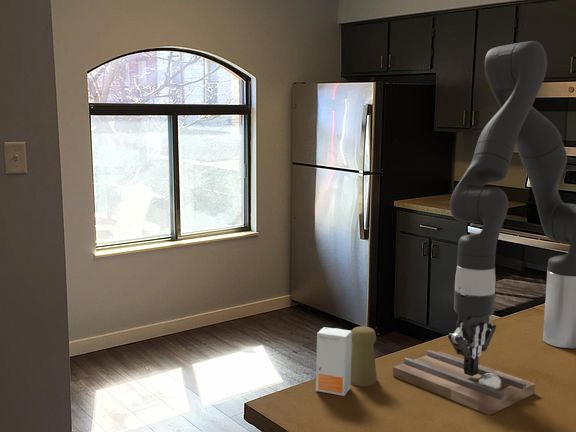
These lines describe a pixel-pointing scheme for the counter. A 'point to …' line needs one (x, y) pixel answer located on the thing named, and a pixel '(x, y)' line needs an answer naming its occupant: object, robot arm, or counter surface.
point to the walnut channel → (462, 382)
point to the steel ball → (491, 381)
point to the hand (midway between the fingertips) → (470, 374)
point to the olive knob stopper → (363, 357)
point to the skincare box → (333, 361)
